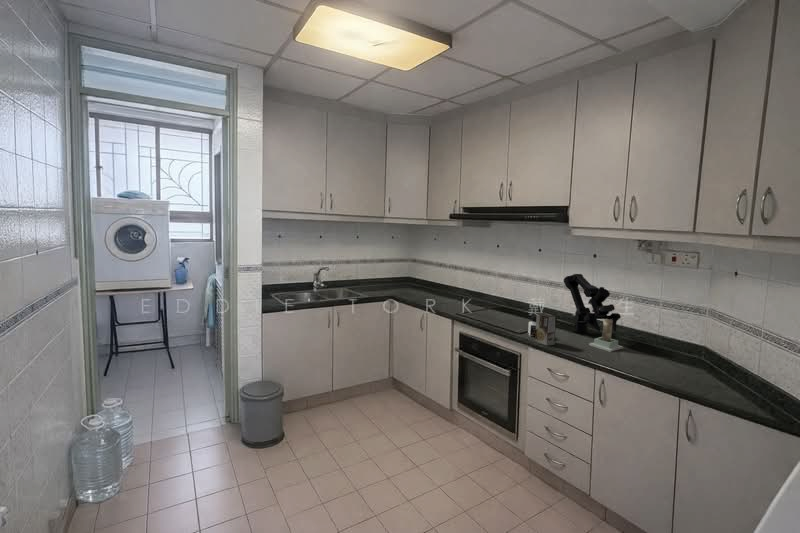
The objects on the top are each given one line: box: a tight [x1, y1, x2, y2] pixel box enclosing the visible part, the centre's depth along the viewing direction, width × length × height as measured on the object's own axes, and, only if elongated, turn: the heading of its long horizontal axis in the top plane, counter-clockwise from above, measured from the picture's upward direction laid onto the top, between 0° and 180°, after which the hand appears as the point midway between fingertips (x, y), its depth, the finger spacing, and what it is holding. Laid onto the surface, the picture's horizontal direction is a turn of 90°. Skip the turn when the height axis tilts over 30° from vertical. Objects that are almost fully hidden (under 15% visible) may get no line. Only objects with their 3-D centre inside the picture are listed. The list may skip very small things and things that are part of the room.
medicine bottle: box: [527, 314, 537, 337], centre depth 235 cm, size 7×7×12 cm
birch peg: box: [601, 319, 613, 342], centre depth 217 cm, size 4×4×14 cm
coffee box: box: [534, 312, 558, 346], centre depth 221 cm, size 9×6×16 cm
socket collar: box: [588, 336, 624, 353], centre depth 218 cm, size 12×12×4 cm
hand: (607, 331), depth 217 cm, fingers open, 9 cm apart
